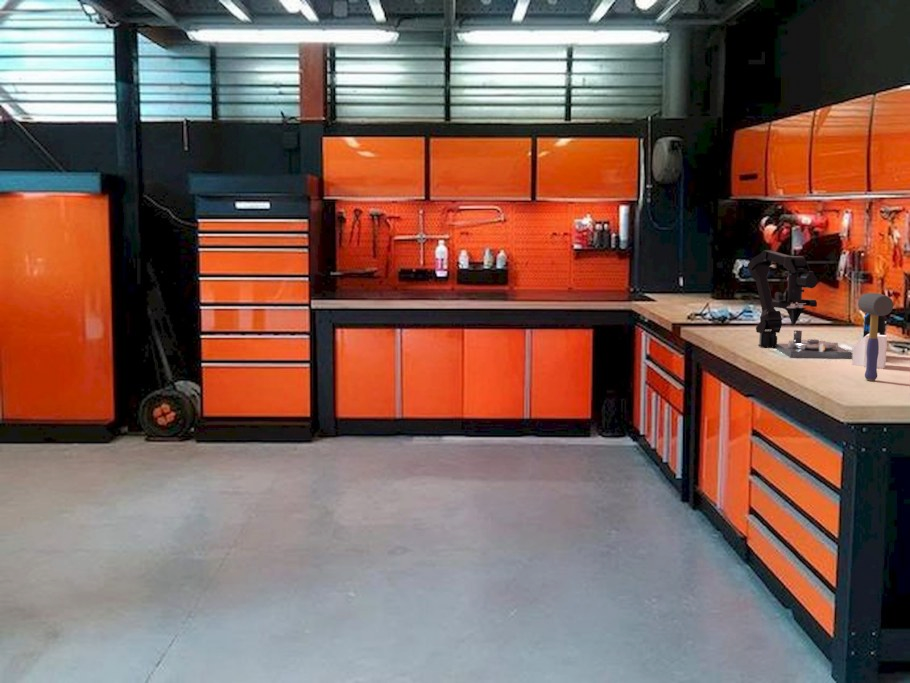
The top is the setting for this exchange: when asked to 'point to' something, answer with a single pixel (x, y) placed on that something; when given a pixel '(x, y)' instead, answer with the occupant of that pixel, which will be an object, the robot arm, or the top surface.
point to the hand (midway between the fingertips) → (793, 324)
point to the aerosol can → (880, 324)
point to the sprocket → (810, 343)
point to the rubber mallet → (874, 327)
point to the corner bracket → (861, 350)
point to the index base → (813, 352)
